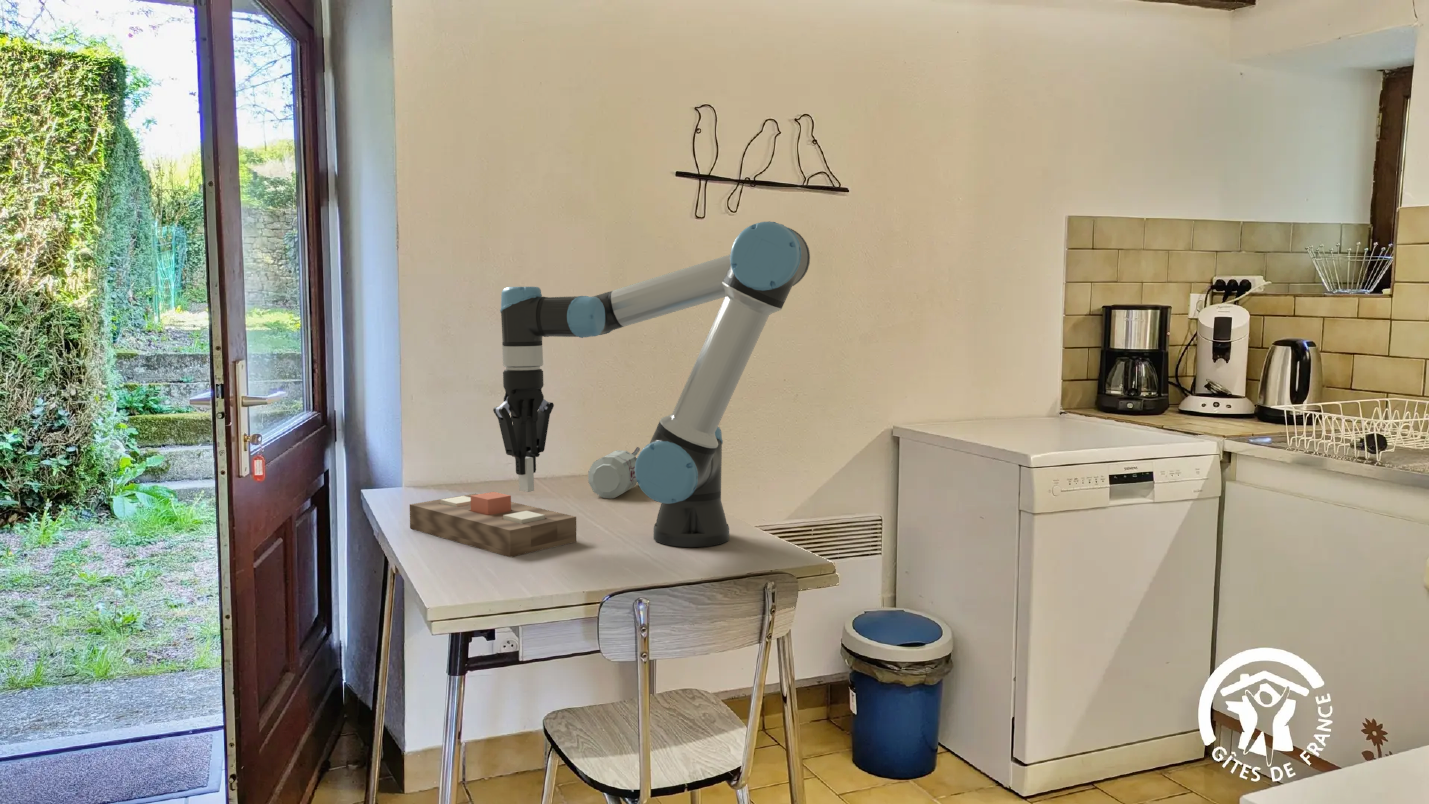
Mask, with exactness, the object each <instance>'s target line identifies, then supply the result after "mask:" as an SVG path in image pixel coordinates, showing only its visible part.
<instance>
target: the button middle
mask: <svg viewBox="0 0 1429 804" xmlns="http://www.w3.org/2000/svg"><path fill="white" fill-rule="evenodd" d="M477 494H478V495H472V496H471V511H472V512H476V513H480V514H484V515H492V514H497V513H503V512H508V511H511V502H512V495H510V494H505V493H500V492H497V491H491V492H485V493H477Z"/></svg>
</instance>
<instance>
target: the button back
mask: <svg viewBox="0 0 1429 804" xmlns="http://www.w3.org/2000/svg"><path fill="white" fill-rule="evenodd" d="M459 496H460V497H457V496H453V497H454V498H451V497H447V498H448V499H445V498H441V499H442V500H440V502H441V504H444V505H448V506H452V507H462V506H467V505H471V498H470V497H466V496H463V495H459Z"/></svg>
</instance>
